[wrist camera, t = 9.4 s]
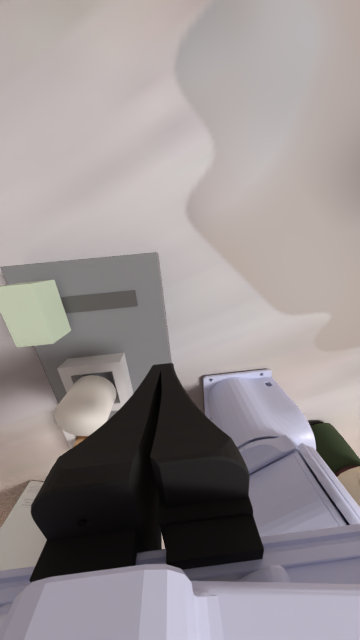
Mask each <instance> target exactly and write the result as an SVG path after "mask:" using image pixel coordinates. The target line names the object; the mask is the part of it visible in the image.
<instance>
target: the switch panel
mask: <svg viewBox="0 0 360 640" xmlns="http://www.w3.org/2000/svg"><path fill="white" fill-rule="evenodd" d="M0 268H1V270H2V273H3V275H4V277H5V280H6V282H7V284H8V285H10V284H16V283H24V282H35V281H45V280H55V283H56V286H57V289H58V292H59V295H60V298H61V301H62V304H63V307H64V310H65V313H66V316H67V319H68V322H69V325H70V328H71V331H70V332H69V333H67V334H66V335H65V336H63V337H62V338H61V339H59V340H58V341H56V342H55V343H54V344H46V345H37V346H34V347H35V350H36V352H37V354H38V357H39V359H40V361H41V364H42V366H43V368H44V371H45V373H46V375H47V378H48V380H49V382H50V385H51V387H52V390H53V392H54V394H55V397H56V399H57V401H58V404H59V403H60V401H61V400H62V399H63V398H64V396H65V395H66V394H67V392H68V391H69V390H70V388H71V387H72V386H73V385H74V383H75V382H76V381H77V380H78V379H80V378H81V377H84V376H88V375H97V376H101V377H104V378H106V379H107V380H109V381H110V382H111V383H112V384H113V385H114V387H115V389H116V392H117V395H116V399H115V402H114V404H113V407H112V409H111V412H110V415H109V417H108V420H109V419H110V418H111V417H112V416H113V415H114V414H115V413H116V412H117V411H118V410H119V409H120V408H121V407H122V406H123V405H124V404H125V403H126V402H127V401H128V399H129V398H130V397H131V396H132V395H133V393H134V392H135V391H136V390H137V388H138V387H139V386H140V384H141V383H142V381H143V380H144V378H145V377H146V375H147V374H148V372H149V370H150V369H151V367H152V366H153V365H156V364H166V363H172V362H171V354H170V346H169V337H168V329H167V321H166V313H165V305H164V297H163V289H162V280H161V272H160V264H159V256H158V253H157V252H155V253H144V254H133V255H123V256H112V257H101V258H90V259H79V260H69V261H58V262H47V263H36V264H25V265H15V266H4V267H0ZM108 420H107V421H108ZM62 431H63V433H64V435H65V437H66V440H67V442H68V444H69V446H70V448H71V449H72V448H73V446H74V444H75V442H76V440H77V438H78V437H79V436H77V435H73V434H70V433H67V432H65V431H64V430H62Z"/></svg>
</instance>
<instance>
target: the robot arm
mask: <svg viewBox="0 0 360 640" xmlns="http://www.w3.org/2000/svg"><path fill="white" fill-rule="evenodd" d="M260 373H261V374H260ZM209 379H211V380H209ZM203 390H204V410H205V414H204V413H203V412H202V411H201V410H200V409H199V408H198V407H197V406H196V405H195V403H194V402H193V401H192V400H191V398H190V397H189V396H188V394H187V393H186V391H185V390H184V388H183V387H182V385H181V383H180V381H179V379H178V377H177V375H176V373H175V370H174V366H173V364H172V363H166V364H156V365H153V366H152V367H151V369H150V370H149V372H148V374H147V375H146V377H145V378H144V380H143V381H142V383H141V384H140V386H139V387H138V388H137V390H136V391H135V392H134V393H133V395H132V396H131V397H130V398H129V399H128V401H127V402H126V403H125V404H124V405H123V406H122V407H121V408H120V409H119V410H118V411H117V412H116V413H115V414H114V415H113V416H112V417H111V418H110V419H109V420H108V421H107V422H105V423H104V424H103V425H102V426H101V427H100V428H98V429H97V430H96V431H95V432H93V433H92V434H91V435H90V436H88V437H87V438H86V439H84V440H83V441H82V442H80V443H79V444H77V445H76V446H74V447H73V448H72V449H70V450H69V451H67V452H66V453H64V454H63V455H61V456H60V457H59V458H58V459H57V461H56V463H55V464H54V466H53V467H52V469H51V471H50V472H49V474H48V476H47V478H46V480H45V481H44V483H43V485H42V487H41V489H40V490H39V492H38V494H37V496H36V497H35V499H34V501H33V503H32V505H31V516H32V518H33V520H34V522H35V523H36V525H37V526H38V528H39V529H40V531H41V532H42V533H43V535H44V536H45V538H46V539H47V541H46V543H45V545H44V548H43V550H42V552H41V554H40V557H39V559H38V561H37V563H36V566H33V567H25V568H18V569H10V570H2V571H0V640H360V507H359V506H358V504H357V503H356V502H355V500H354V499H353V498H352V496H351V495H350V494H349V493H348V491H347V490H346V489H345V487H344V486H343V485H342V483H341V482H340V481H339V480H338V478H337V477H336V476H335V474H334V473H333V472H332V471H331V469H330V468H329V467H328V465H327V464H326V463H325V462H324V460H323V459H322V458H321V456H320V455H319V454H318V453H317V451H316V442H315V437H314V434H313V431H312V429H311V427H310V425H309V423H308V421H307V419H306V417H305V416H304V414H303V413H302V411H301V410H300V409H299V408H298V406H297V405H296V404H295V403H294V402H293V401H292V399H291V398H290V397H289V396H288V395H287V394H286V393H285V391H284V390H283V389H282V388H281V387H280V386H279V385H278V383H277V382H276V381H275V380H274V379H273V378H272V371H271V370H270V369H264V370H255V371H246V372H237V373H228V374H219V375H210V376H205V377H204V378H203ZM161 532H162V536H163V540H164V544H165V549H162V548H161Z"/></svg>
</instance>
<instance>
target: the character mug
mask: <svg viewBox="0 0 360 640" xmlns="http://www.w3.org/2000/svg"><path fill="white" fill-rule="evenodd" d="M310 427H311V429H312V431H313V434H314V437H315V442H316V451H317V453H318V454H319V455H320V456H321V458H322V459H323V460H324V462H325V463H326V464H327V465H328V467H329V468H330V469H331V471H332V472H333V473H334V474H335V476H336V477H337V478H338V480H339V481H340V482H341V483H342V485H343V486H344V487H345V489H346V490H347V491H348V493H349V494H350V495H351V496H352V498H353V499H354V500H355V502H356V503H357V504H358V506H359V507H360V459H359V457H358V456H357V455H356V454H355V452H354V451H353V450H352V448H351V447H350V446H349V445H348V443H347V442H346V441H345V440H344V438H343V437H342V436H341V435H340V434H339V432H338V431H337V430H336V429H335V428H334V427H333V426H332V425H331V424H329V423H319V424H315V425H311V426H310Z"/></svg>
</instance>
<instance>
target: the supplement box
mask: <svg viewBox="0 0 360 640" xmlns="http://www.w3.org/2000/svg"><path fill="white" fill-rule="evenodd" d="M43 483H44V482H39V481H30V482H29V483H28V485H27V486H26V488H25V490H24V491H23V493H22V494H21V496H20V497H19V499H18V501H17V502H16V504H15V505H14V507H13V509H12V510H11V512H10V513H9V515H8V517H7V518H6V520H5V521H4V523H3V524H2V526H1V528H0V571H2V570H10V569H18V568H25V567H33V566H36V563H37V561H38V559H39V557H40V554H41V552H42V550H43V548H44V545H45V543H46V541H47V539H46V538H45V536H44V535H43V533H42V532H41V531H40V529H39V528H38V526H37V525H36V523H35V522H34V520H33V518H32V516H31V505H32V503H33V501H34V499H35V497H36V496H37V494H38V492H39V490H40V489H41V487H42V485H43Z"/></svg>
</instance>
